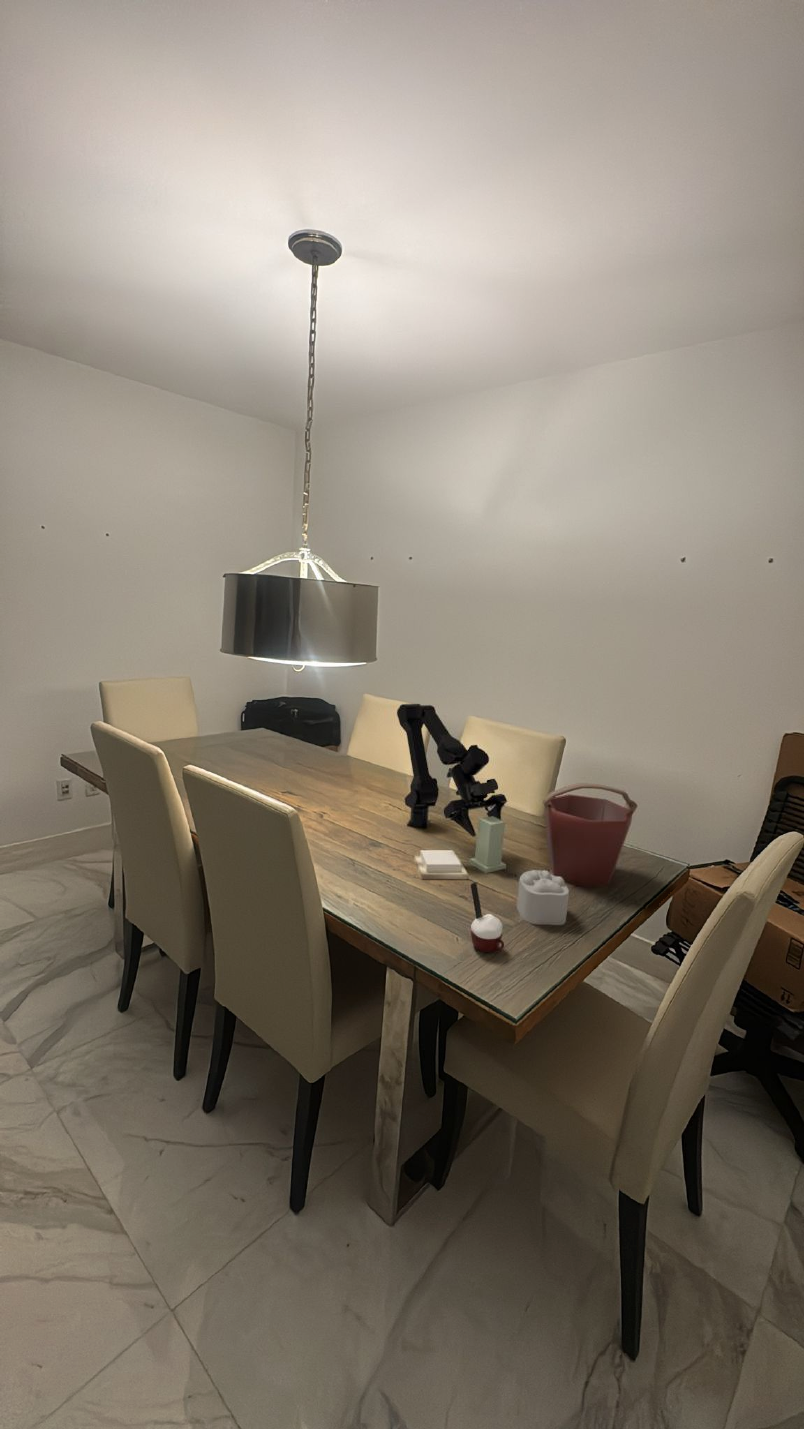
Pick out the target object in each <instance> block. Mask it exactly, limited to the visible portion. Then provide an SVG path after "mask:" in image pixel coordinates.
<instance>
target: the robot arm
mask: <svg viewBox="0 0 804 1429" xmlns="http://www.w3.org/2000/svg"><path fill="white" fill-rule="evenodd" d="M396 716H397V719H398V722H399V725H400V727H401V728H402V729H403V730H404V732H406V739H407V744H408V751H409V756H410V762H411V767H412V769H411V770H412V774H413V777H412V780H411V783H410V786H409V788H410V789H409V790H410V792H409V793H408V794H407V795H406V796H405V798H404V804H405V806H407V807H408V808H409V809H410V816H409V818H410V819H409V820H408V822H407V823H406V826H408V827H415V828H421V829H422V828H423V829H428V827H429V825H430V824H431V820H429V812H430V811H429V810H430V807H435V806H436V804H437V801H438V798H439V791H440V789H439V786H438V780H437V778H435V777H432V775H431V774H430V772H429V771H430V770H429V765H428V760H427V754H426V748H425V742H424V737H423V731H422V729H423V726H425V728H426V729H427V731H428V733H429V735H431V737H432V739H433V741H434V742H435V744H436V746H437V750H436V753H437V755H438V758H439V760H440V762H441V763H442V764H443V765H444V766H451V765H453V766H452V767H450V768H448V772H447V773H446V778H452V780H453V782H454V784H455V787H456V789H457V790H456V791H455V794H456V796H460V799H454V800H451V801H450V802H449V803H448V804H447V805H446V806H445V807H444V808H443V815H444V817H445V819H450V821H452V822H454V823H456V824H457V825H458V826H460V827H461V828H462V829H463V830H465V831H466V832H467V833H468V834H469V835H470V836H471V837H472V838H475V836H477V834H476V831H475V828H474V826H473V823H472V820H471V819H470V816H469V815H470V814H469V812H470V810H477V809H485V811H486V812H487V813H486V815H487V817H491V816H494V817H496V818H498V819H500V820H502V808H503V807H505V804H506V803H508V799H507V798H506V795H505V794H502V793H497V794H496V791H497V790H498V789H499V783H498V781H497V779H496V778H490V779H486V782H481V781H480V780H476V778H475V776H476V775H478V774H479V773H480V772H481V771H482V770H483V769H484V768H485V767H486V765H488V764H489V762H490V758H489V754H488V753H487V752H486V751H485V750H483V749H482V748H480V747H479V746H478V744H472V745H470V746H469V747H468V749H467V748H466V747H465V745H464V744H463V743H462V742H461V741H460V740H459V739H457V738H455V737H454V736H452V735H451V734H450V732H449V730H448V729H447V727H446V726H445V724H444V723H443V721H442V720H441V719H440V717H439V715H438V714H437V712H436V708H435V706H433V705H431V704H428V705H427V704H426V705H425V704H423V705H421V704H420V703H404V704H403V703H402V704H400V706H399V707H398V708H397V710H396ZM490 794H492V795H491V796H490V797H489V798H488V796H489V795H490ZM486 798H487V799H486Z"/></svg>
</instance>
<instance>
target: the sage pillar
mask: <svg viewBox="0 0 804 1429" xmlns="http://www.w3.org/2000/svg"><path fill="white" fill-rule="evenodd" d="M477 821H478V823H477V834H476V844H475V853H474V854H475V855H474V857H472V858H469V864H470V865H472V866H474V867H475V868H477V869H478V870H480V871H482V872H483V873H485V874H488V873H492V872H496V871H501V870H502V871H503V870H505V869H506V868H507V864H506V863H504V862H502V856H503V847H504V846H503V845H504V836H505V835H504V834H505V827H506V826H505V825H506V821H504V820H502V819H501V820H500V819H498V818H496V817H494V816H491V817H488V816H487V817H486V816H484V817H480V818H478V820H477Z"/></svg>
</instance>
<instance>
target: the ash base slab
mask: <svg viewBox="0 0 804 1429" xmlns="http://www.w3.org/2000/svg"><path fill="white" fill-rule="evenodd" d="M455 855H456V857H457V858H458V860H459V862H460V863H461V871H460V872H426V870H425V867H424V865H423V863H422V860H421V858H420V854H414V856H413V860H414V863H415V865H416V869H417V872H418V873H419V877H420V878H421V880H468V879H469V878H468V876H469V874H468V872H467V870H466V869H465V866H464V865H463V863H462V862H461V859H460V857H459V855H457V854H455Z"/></svg>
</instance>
